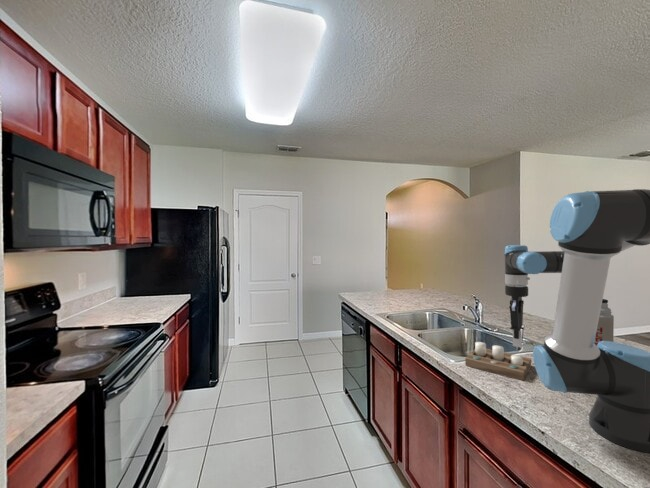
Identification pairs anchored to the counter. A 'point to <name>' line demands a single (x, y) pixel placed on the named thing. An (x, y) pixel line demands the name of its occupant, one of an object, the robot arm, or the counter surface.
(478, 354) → the white rounded cylinder
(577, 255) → the robot arm
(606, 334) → the thermos bottle
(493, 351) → the button
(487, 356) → the button board
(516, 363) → the button
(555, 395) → the counter surface
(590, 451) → the counter surface
